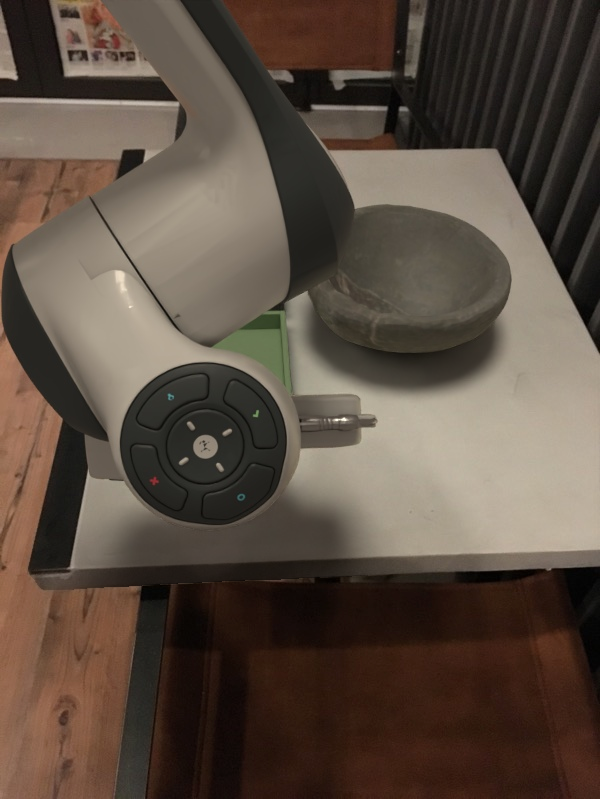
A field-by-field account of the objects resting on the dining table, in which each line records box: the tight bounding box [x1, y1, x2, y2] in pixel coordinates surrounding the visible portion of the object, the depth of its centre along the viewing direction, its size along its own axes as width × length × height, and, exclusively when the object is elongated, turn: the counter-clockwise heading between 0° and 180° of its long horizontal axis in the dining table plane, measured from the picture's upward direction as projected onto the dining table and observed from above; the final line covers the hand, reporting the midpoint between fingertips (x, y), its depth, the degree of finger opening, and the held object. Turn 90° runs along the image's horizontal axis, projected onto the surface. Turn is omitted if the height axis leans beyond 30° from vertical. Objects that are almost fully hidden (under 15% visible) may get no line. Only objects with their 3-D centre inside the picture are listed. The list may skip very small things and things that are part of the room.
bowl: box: [306, 203, 513, 354], centre depth 77 cm, size 23×22×10 cm
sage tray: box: [211, 310, 293, 395], centre depth 73 cm, size 15×15×3 cm
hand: (229, 417), depth 58 cm, fingers closed on beverage can, 7 cm apart
